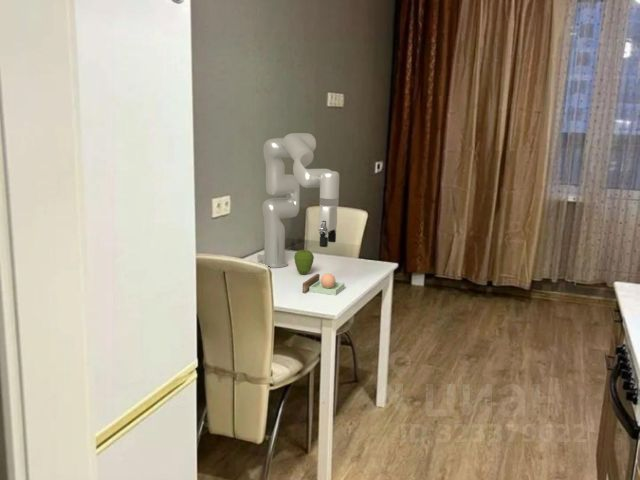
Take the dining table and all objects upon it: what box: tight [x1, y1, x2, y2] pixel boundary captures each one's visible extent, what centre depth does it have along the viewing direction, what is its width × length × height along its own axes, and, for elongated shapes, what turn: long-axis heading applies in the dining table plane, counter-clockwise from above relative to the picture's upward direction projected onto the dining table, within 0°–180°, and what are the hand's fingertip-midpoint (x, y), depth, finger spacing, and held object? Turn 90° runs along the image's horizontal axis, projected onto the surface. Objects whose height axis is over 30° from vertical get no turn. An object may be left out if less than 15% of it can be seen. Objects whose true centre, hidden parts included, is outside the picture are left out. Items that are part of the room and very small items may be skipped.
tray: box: [308, 279, 346, 296], centre depth 246 cm, size 11×11×2 cm
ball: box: [320, 273, 336, 288], centre depth 247 cm, size 6×6×6 cm
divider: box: [302, 273, 321, 294], centre depth 249 cm, size 1×16×4 cm, turn 159°
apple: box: [293, 249, 315, 275], centre depth 269 cm, size 9×8×12 cm
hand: (327, 244), depth 243 cm, fingers open, 9 cm apart
